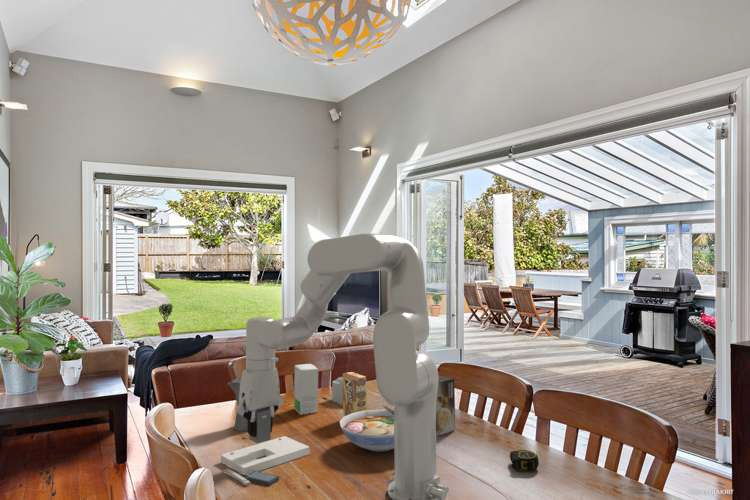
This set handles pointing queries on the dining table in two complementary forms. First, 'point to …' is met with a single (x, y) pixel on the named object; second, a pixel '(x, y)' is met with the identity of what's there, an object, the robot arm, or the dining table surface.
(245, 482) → the grey thin stick
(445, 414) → the coffee box
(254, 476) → the phone
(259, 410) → the block
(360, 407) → the candy box
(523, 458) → the tape measure
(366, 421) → the ramen bowl
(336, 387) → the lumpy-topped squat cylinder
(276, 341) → the robot arm
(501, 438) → the dining table surface
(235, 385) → the coffeepot
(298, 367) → the skincare box
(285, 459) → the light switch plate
